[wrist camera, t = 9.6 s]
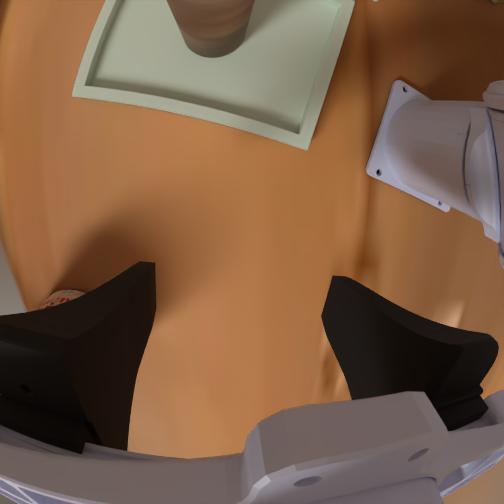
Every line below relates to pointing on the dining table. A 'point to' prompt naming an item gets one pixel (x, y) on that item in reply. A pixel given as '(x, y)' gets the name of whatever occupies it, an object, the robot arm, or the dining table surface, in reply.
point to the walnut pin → (212, 24)
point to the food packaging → (497, 1)
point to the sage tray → (220, 65)
